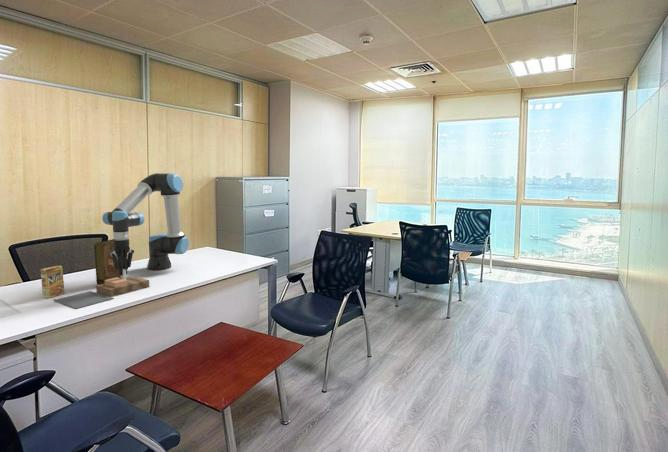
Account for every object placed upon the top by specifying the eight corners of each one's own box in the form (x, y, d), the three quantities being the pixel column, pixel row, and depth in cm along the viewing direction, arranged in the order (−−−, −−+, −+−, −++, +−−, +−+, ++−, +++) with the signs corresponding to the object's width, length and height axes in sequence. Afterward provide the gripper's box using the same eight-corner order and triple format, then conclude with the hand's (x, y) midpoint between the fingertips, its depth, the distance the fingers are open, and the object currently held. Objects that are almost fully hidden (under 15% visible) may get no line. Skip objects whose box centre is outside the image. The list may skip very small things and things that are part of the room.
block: (117, 281, 219) (117, 277, 219) (127, 284, 214) (127, 280, 214) (104, 284, 213) (104, 280, 213) (115, 287, 208) (114, 283, 208)
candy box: (47, 298, 201) (45, 269, 199) (42, 297, 203) (39, 268, 200) (65, 293, 209) (62, 266, 207) (59, 292, 211) (57, 265, 209)
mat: (90, 291, 213) (90, 290, 213) (113, 299, 202) (113, 298, 202) (53, 300, 198) (53, 299, 198) (76, 309, 187) (76, 308, 187)
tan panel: (135, 283, 231) (134, 276, 230) (149, 287, 224) (149, 280, 223) (96, 292, 212) (96, 285, 212) (111, 297, 205) (110, 289, 204)
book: (118, 278, 239) (115, 238, 236) (125, 279, 238) (123, 239, 235) (96, 286, 224) (93, 243, 220) (105, 287, 222) (102, 243, 219)
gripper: (113, 241, 207) (116, 284, 210) (136, 238, 218) (138, 279, 221) (105, 240, 210) (108, 282, 214) (128, 236, 222) (130, 277, 225)
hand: (123, 280), depth 217 cm, fingers closed
